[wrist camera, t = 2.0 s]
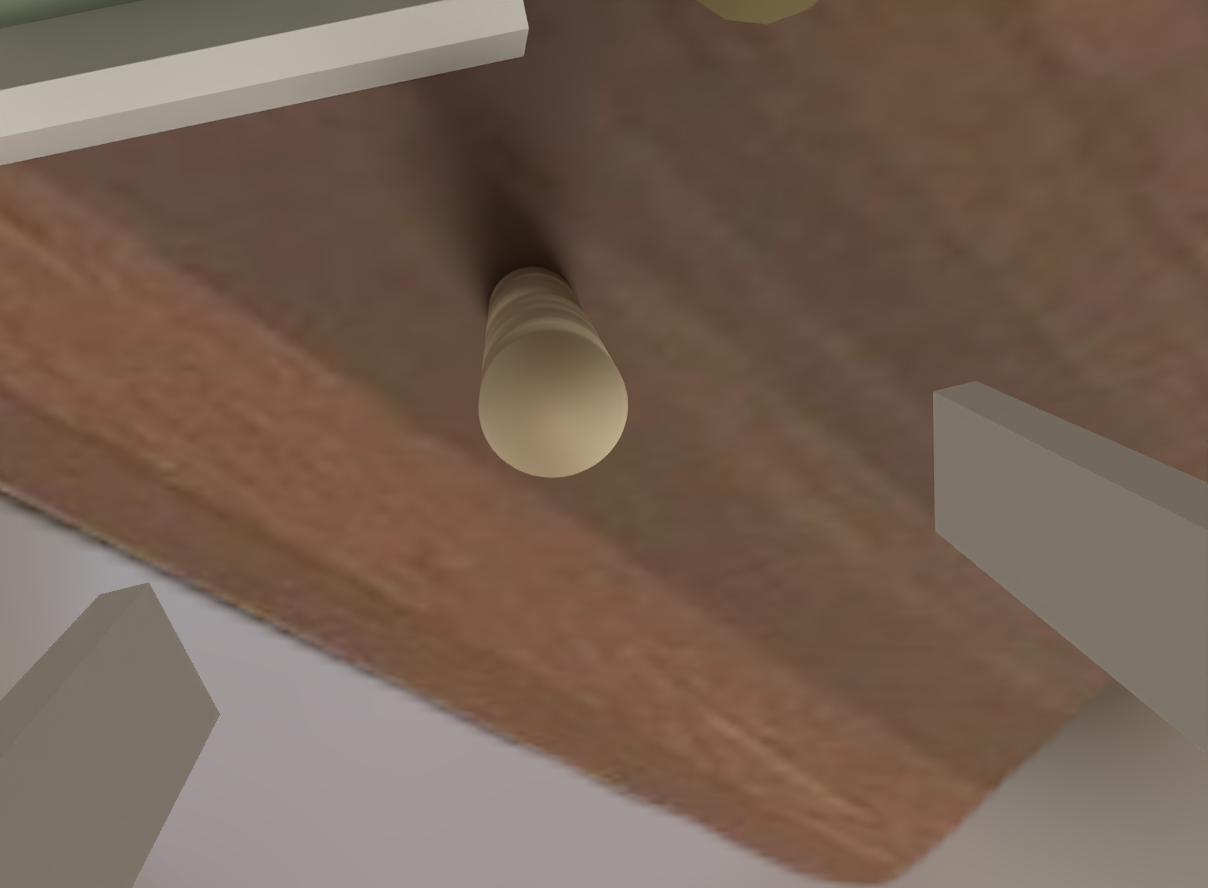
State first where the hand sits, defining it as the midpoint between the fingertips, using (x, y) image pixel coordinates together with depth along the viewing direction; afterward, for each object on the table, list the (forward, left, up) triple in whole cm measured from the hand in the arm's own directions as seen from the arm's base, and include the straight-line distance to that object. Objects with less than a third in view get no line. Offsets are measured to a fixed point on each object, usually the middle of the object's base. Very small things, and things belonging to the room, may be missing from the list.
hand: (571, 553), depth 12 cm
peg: (0, 0, -22) cm, 22 cm away
